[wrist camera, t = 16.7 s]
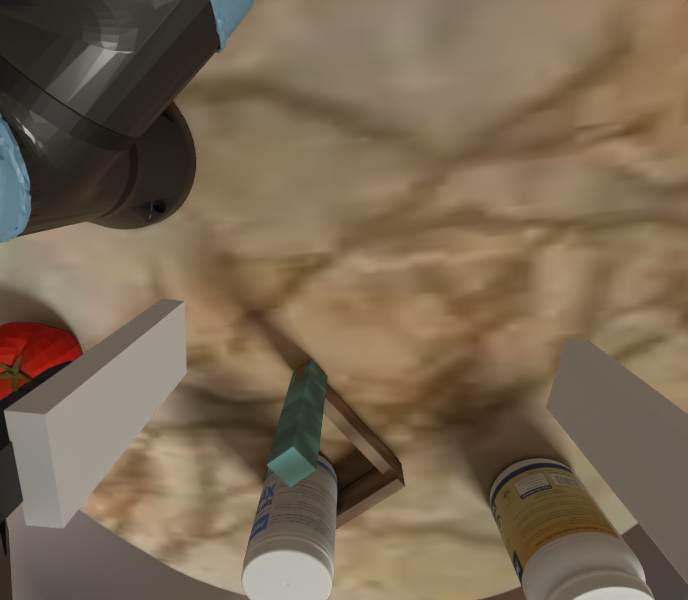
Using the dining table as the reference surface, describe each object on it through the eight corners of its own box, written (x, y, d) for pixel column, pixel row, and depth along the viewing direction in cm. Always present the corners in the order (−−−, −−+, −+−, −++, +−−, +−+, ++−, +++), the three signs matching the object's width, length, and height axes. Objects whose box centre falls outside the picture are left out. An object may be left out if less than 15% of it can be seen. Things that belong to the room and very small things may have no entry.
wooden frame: (405, 460, 53) (426, 578, 38) (296, 530, 58) (276, 661, 42) (311, 359, 49) (292, 446, 34) (200, 442, 53) (139, 554, 38)
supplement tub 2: (467, 488, 55) (515, 622, 39) (543, 437, 52) (628, 558, 36) (522, 540, 58) (587, 685, 42) (596, 493, 55) (698, 630, 39)
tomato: (100, 388, 51) (65, 419, 45) (13, 385, 52) (-33, 416, 45) (86, 315, 48) (47, 338, 42) (-6, 313, 48) (-59, 335, 42)
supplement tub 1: (266, 445, 54) (236, 544, 40) (339, 448, 53) (334, 548, 39) (268, 504, 57) (241, 615, 43) (337, 506, 56) (332, 619, 43)
